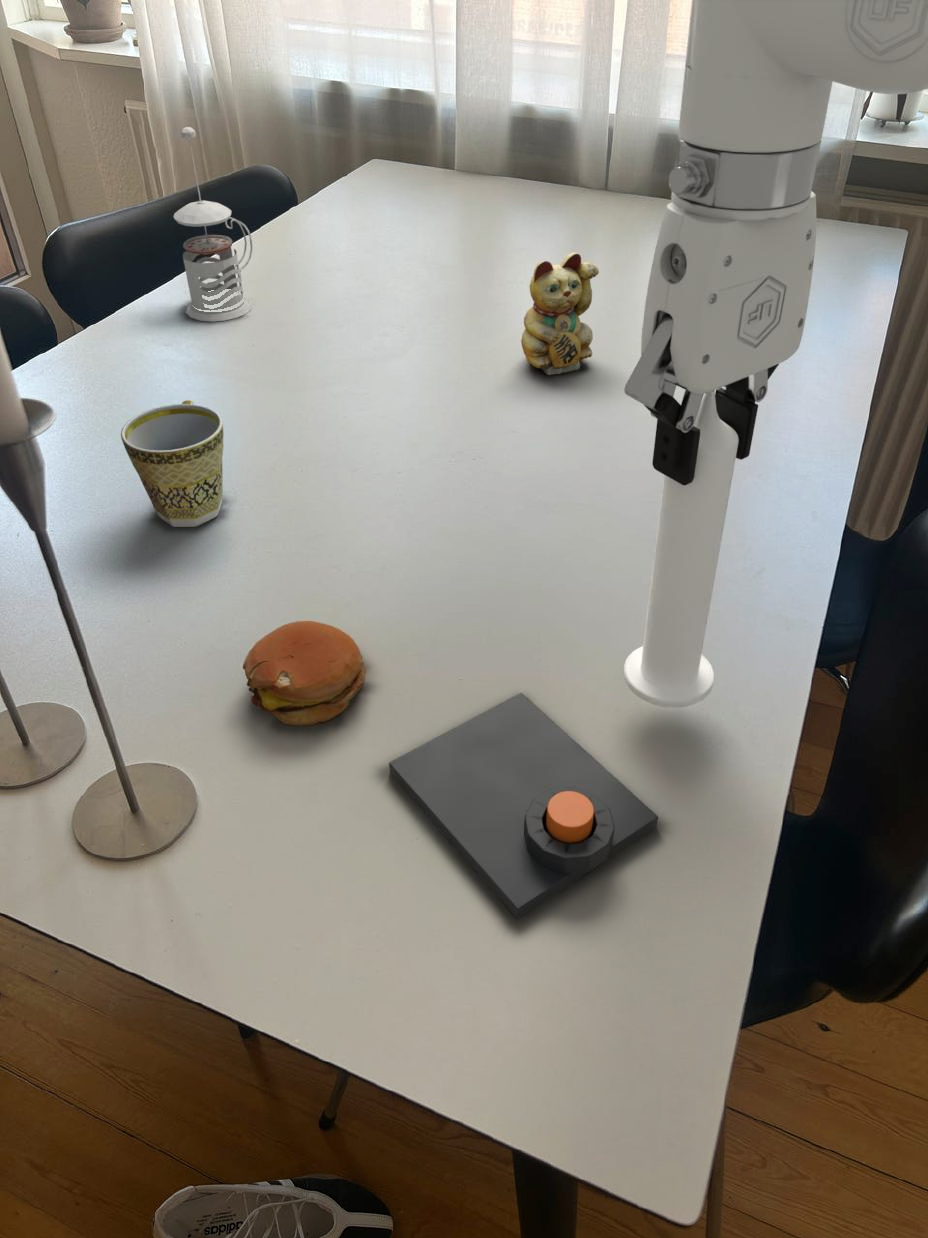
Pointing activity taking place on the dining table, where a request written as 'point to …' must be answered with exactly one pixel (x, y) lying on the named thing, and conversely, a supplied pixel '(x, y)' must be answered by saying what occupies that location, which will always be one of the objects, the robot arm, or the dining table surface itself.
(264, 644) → the burger
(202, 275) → the french press
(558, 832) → the button
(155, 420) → the ceramic cup
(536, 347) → the decorative figurine
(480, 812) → the scale
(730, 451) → the candle
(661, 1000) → the dining table surface
